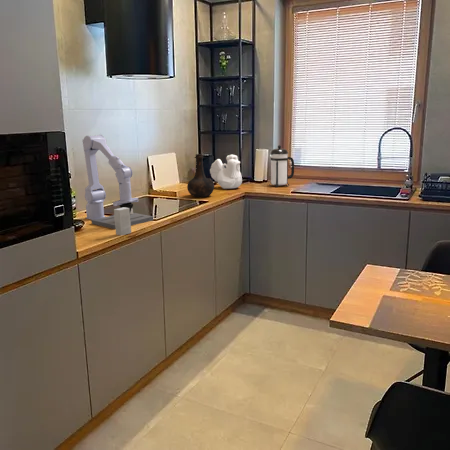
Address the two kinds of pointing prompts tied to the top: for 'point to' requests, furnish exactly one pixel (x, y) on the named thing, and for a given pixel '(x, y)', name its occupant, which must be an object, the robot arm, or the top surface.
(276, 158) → the coffee press
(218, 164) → the decorative rooster
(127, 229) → the skincare box
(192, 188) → the dark brown vase
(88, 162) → the robot arm
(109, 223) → the dark grey slab
